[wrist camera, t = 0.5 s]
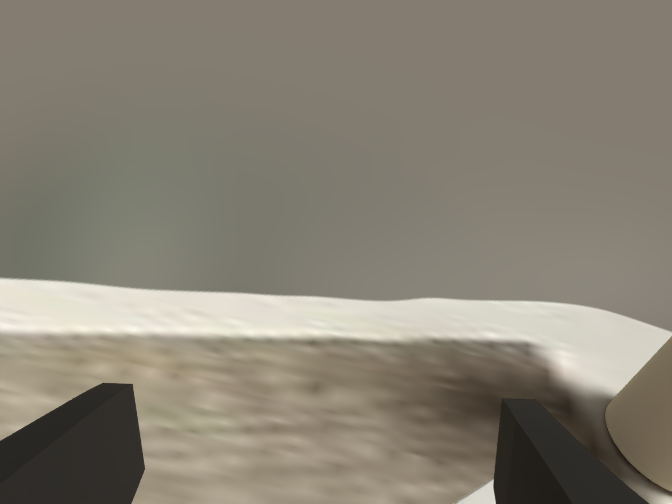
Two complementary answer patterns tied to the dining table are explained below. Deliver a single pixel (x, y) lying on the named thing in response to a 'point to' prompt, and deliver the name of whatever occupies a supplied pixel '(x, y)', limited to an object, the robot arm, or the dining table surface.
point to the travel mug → (646, 419)
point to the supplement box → (479, 495)
